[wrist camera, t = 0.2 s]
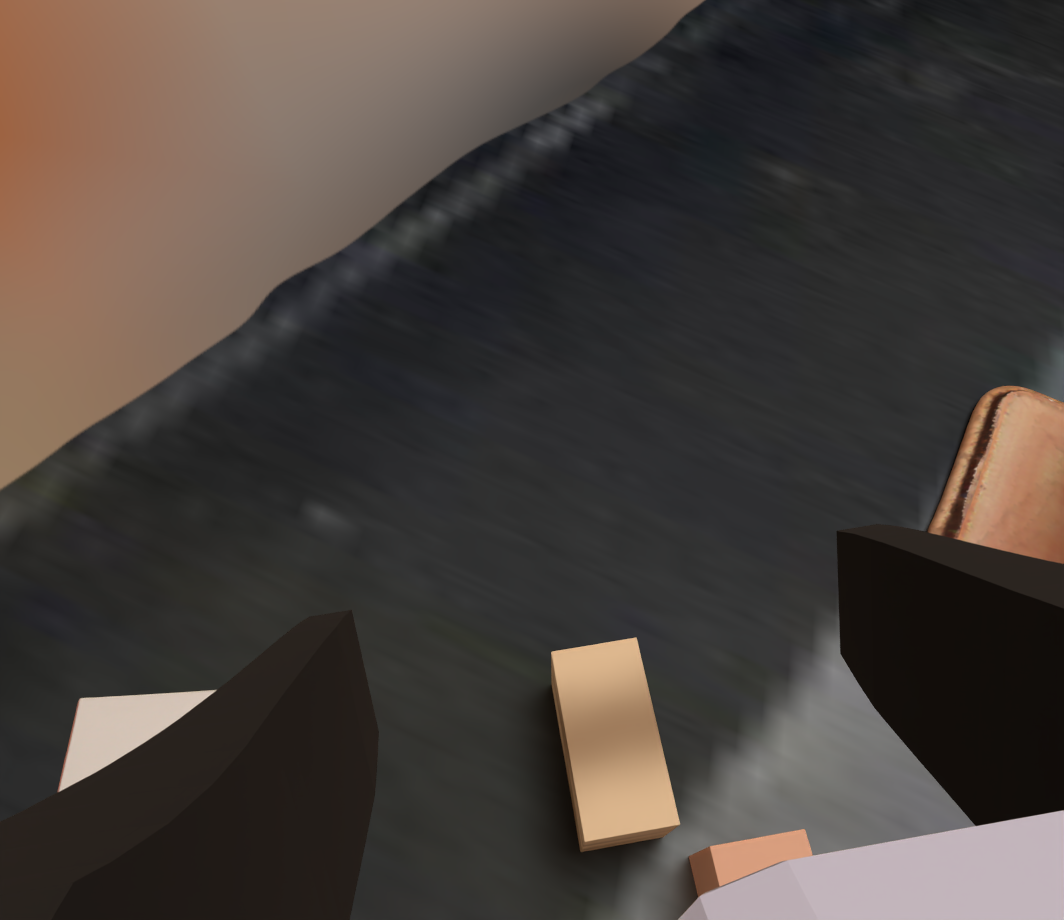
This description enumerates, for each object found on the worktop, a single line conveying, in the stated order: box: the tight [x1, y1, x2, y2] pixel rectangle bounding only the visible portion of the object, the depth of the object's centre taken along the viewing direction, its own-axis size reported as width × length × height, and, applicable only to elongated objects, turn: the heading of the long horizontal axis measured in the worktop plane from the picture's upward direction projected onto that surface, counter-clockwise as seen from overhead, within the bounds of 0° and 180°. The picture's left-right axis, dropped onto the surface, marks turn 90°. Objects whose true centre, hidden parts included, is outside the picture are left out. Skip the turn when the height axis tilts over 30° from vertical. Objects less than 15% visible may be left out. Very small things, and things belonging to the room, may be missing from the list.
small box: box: [57, 690, 216, 793], centre depth 33 cm, size 8×6×13 cm
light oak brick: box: [551, 638, 680, 852], centre depth 37 cm, size 8×4×6 cm, turn 9°
